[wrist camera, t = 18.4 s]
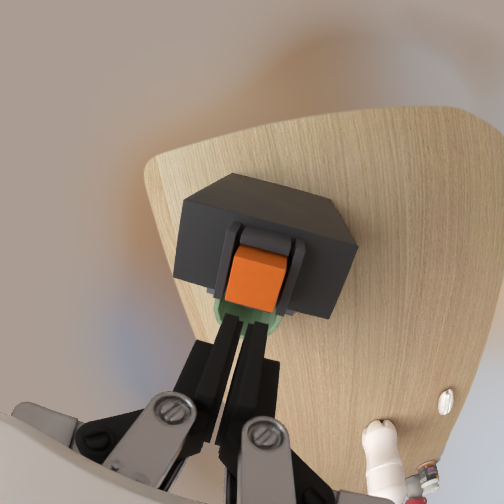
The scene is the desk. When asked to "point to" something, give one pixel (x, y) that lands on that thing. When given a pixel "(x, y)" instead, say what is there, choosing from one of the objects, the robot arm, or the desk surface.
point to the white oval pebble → (445, 402)
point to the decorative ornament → (414, 491)
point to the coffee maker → (266, 240)
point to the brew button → (256, 277)
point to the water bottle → (383, 462)
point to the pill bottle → (428, 477)
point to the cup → (245, 315)
